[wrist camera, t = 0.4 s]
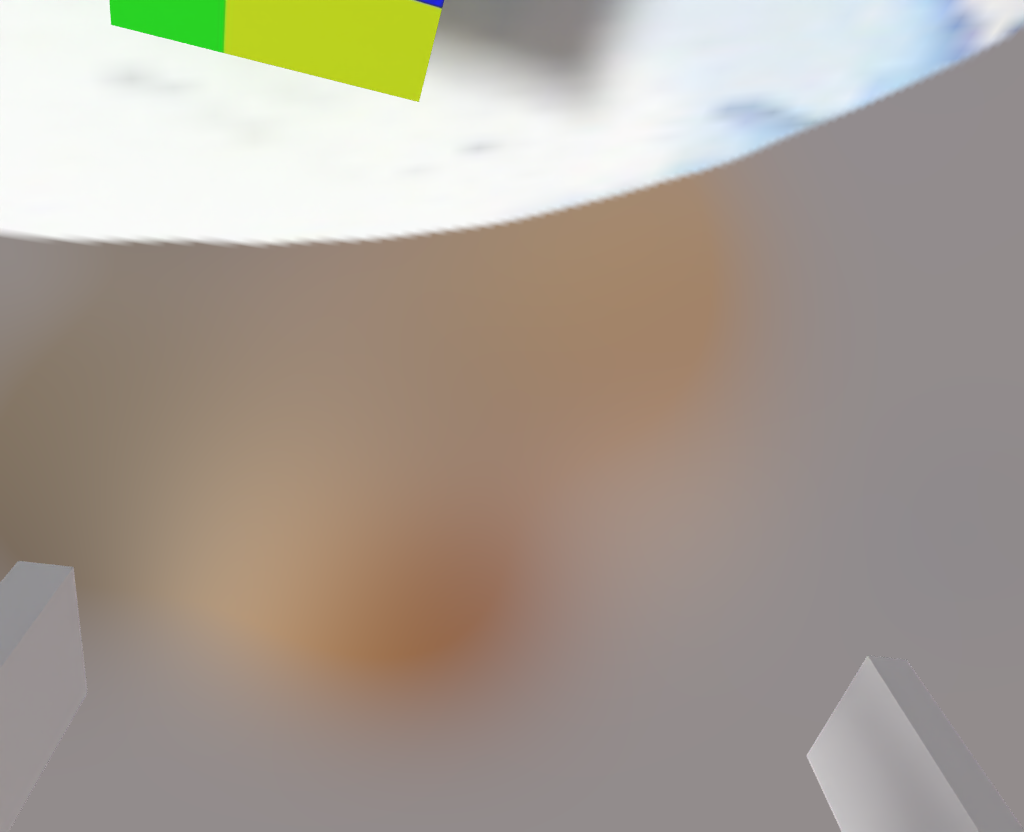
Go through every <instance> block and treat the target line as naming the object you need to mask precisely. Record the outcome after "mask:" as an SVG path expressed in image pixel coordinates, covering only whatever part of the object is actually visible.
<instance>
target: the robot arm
mask: <svg viewBox="0 0 1024 832" xmlns="http://www.w3.org/2000/svg"><path fill="white" fill-rule="evenodd" d="M86 695H87V685H86V675H85V666H84V658H83V648H82V639H81V630H80V622H79V613H78V604H77V595H76V586H75V577H74V568H73V567H68V566H58V565H50V564H40V563H32V562H23V561H18V562H17V563H16V564H15V566H14V567H13V568H12V569H11V570H10V572H9V573H8V574H7V575H6V576H5V578H4V579H3V580H2V581H1V582H0V832H9V830H10V829H11V827H12V825H13V823H14V822H15V820H16V818H17V816H18V815H19V813H20V811H21V809H22V807H23V806H24V804H25V802H26V800H27V799H28V797H29V795H30V793H31V792H32V790H33V788H34V786H35V785H36V783H37V781H38V779H39V777H40V776H41V774H42V772H43V770H44V769H45V767H46V765H47V763H48V762H49V760H50V758H51V756H52V755H53V753H54V751H55V749H56V748H57V746H58V744H59V742H60V740H61V739H62V737H63V735H64V733H65V731H66V730H67V728H68V726H69V724H70V723H71V721H72V719H73V717H74V716H75V714H76V712H77V710H78V709H79V707H80V705H81V703H82V702H83V700H84V698H85V696H86ZM807 758H808V760H809V762H810V765H811V767H812V769H813V771H814V773H815V775H816V778H817V780H818V782H819V784H820V786H821V788H822V790H823V793H824V795H825V797H826V799H827V801H828V803H829V806H830V808H831V810H832V812H833V814H834V816H835V819H836V820H837V823H838V825H839V827H840V829H841V831H842V832H1024V829H1023V827H1022V826H1021V825H1020V823H1019V822H1018V820H1017V819H1016V817H1015V816H1014V814H1013V813H1012V811H1011V810H1010V809H1009V807H1008V806H1007V804H1006V803H1005V801H1004V800H1003V799H1002V797H1001V796H1000V794H999V793H998V791H997V790H996V788H995V787H994V785H993V784H992V783H991V781H990V780H989V778H988V777H987V775H986V774H985V772H984V771H983V770H982V768H981V767H980V765H979V764H978V762H977V761H976V759H975V758H974V756H973V755H972V754H971V752H970V751H969V749H968V748H967V746H966V745H965V743H964V742H963V741H962V739H961V738H960V737H959V735H958V733H957V732H956V730H955V729H954V728H953V726H952V725H951V723H950V722H949V720H948V719H947V717H946V716H945V715H944V713H943V712H942V710H941V709H940V707H939V706H938V704H937V703H936V702H935V700H934V699H933V697H932V696H931V694H930V693H929V691H928V690H927V689H926V687H925V686H924V684H923V683H922V681H921V680H920V678H919V677H918V675H917V674H916V673H915V671H914V670H913V668H912V667H911V665H910V664H909V662H908V661H907V660H905V659H896V658H887V657H877V656H869V655H868V656H867V657H866V659H865V661H864V662H863V664H862V665H861V667H860V669H859V670H858V672H857V674H856V675H855V677H854V679H853V680H852V682H851V683H850V685H849V687H848V688H847V690H846V692H845V693H844V695H843V697H842V698H841V700H840V702H839V703H838V705H837V706H836V708H835V710H834V711H833V713H832V715H831V716H830V718H829V720H828V721H827V723H826V725H825V726H824V728H823V730H822V731H821V733H820V734H819V736H818V738H817V739H816V741H815V742H814V744H813V746H812V747H811V749H810V751H809V752H808V754H807Z"/></svg>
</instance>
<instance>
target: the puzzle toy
mask: <svg viewBox="0 0 1024 832" xmlns="http://www.w3.org/2000/svg"><path fill="white" fill-rule="evenodd" d="M443 3H444V0H110V14H111V25H115V26H119V27H123V28H127V29H131V30H135V31H139V32H143V33H147V34H150V35H154V36H158V37H162V38H166V39H170V40H174V41H178V42H182V43H186V44H190V45H194V46H198V47H202V48H206V49H210V50H214V51H218V52H222V53H226V54H230V55H234V56H238V57H242V58H246V59H250V60H254V61H258V62H262V63H266V64H270V65H274V66H278V67H282V68H286V69H290V70H294V71H298V72H302V73H306V74H310V75H314V76H318V77H322V78H326V79H330V80H334V81H338V82H342V83H346V84H350V85H354V86H358V87H362V88H366V89H370V90H374V91H378V92H382V93H386V94H390V95H393V96H397V97H401V98H405V99H409V100H413V101H417V102H419V99H420V95H421V91H422V87H423V83H424V79H425V75H426V71H427V67H428V63H429V59H430V55H431V51H432V47H433V43H434V39H435V35H436V31H437V27H438V23H439V19H440V15H441V11H442V7H443Z"/></svg>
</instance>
